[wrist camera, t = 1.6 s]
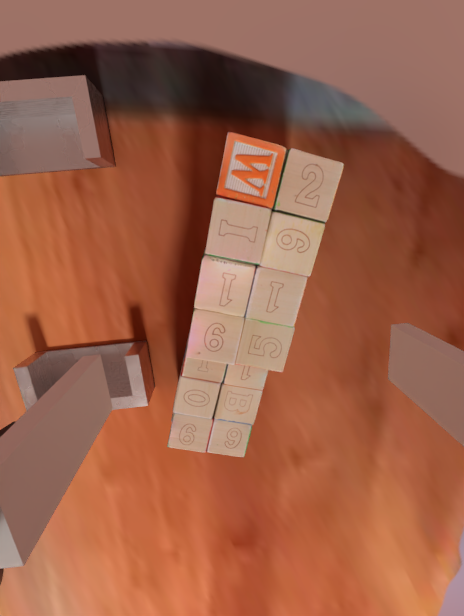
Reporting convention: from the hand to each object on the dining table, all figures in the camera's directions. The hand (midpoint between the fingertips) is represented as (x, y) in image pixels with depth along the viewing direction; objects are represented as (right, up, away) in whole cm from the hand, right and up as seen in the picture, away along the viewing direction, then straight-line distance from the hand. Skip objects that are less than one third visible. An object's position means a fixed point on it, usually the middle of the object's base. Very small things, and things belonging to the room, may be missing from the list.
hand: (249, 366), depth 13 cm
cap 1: (-16, +17, +11) cm, 26 cm away
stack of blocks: (-1, +4, +16) cm, 16 cm away
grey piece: (-15, -4, +17) cm, 23 cm away
